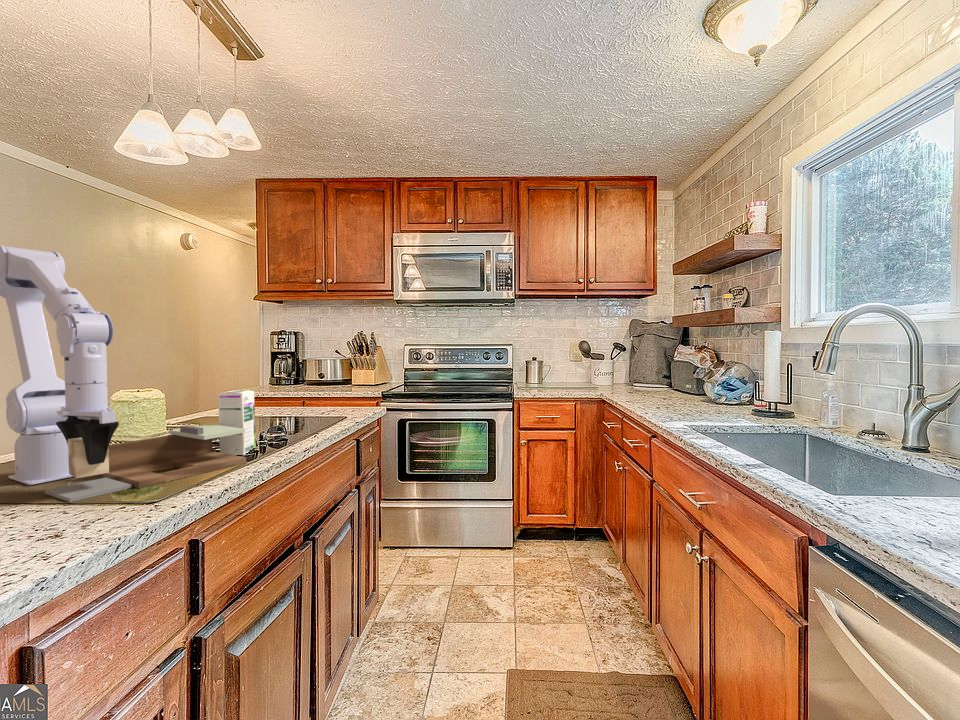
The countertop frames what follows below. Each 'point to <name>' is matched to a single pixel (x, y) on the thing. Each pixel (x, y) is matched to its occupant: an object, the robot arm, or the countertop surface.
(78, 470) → the block
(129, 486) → the mat
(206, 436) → the cover
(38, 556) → the countertop surface
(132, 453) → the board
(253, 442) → the syrup box
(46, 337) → the robot arm
